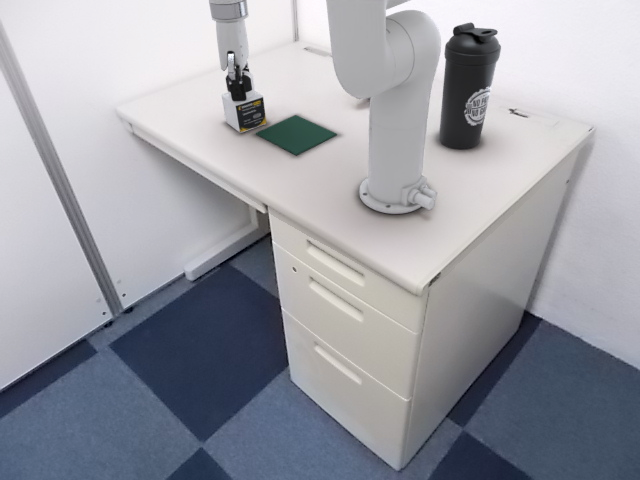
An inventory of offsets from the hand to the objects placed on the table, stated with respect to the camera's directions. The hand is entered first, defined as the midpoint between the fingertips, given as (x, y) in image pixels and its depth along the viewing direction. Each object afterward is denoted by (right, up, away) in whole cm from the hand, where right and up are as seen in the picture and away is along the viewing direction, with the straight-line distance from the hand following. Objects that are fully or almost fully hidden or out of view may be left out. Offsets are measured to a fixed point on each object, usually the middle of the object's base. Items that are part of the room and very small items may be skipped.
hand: (241, 92), depth 111 cm
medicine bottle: (0, -6, +5) cm, 8 cm away
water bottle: (+48, -12, -6) cm, 49 cm away
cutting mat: (+12, -10, -1) cm, 16 cm away
